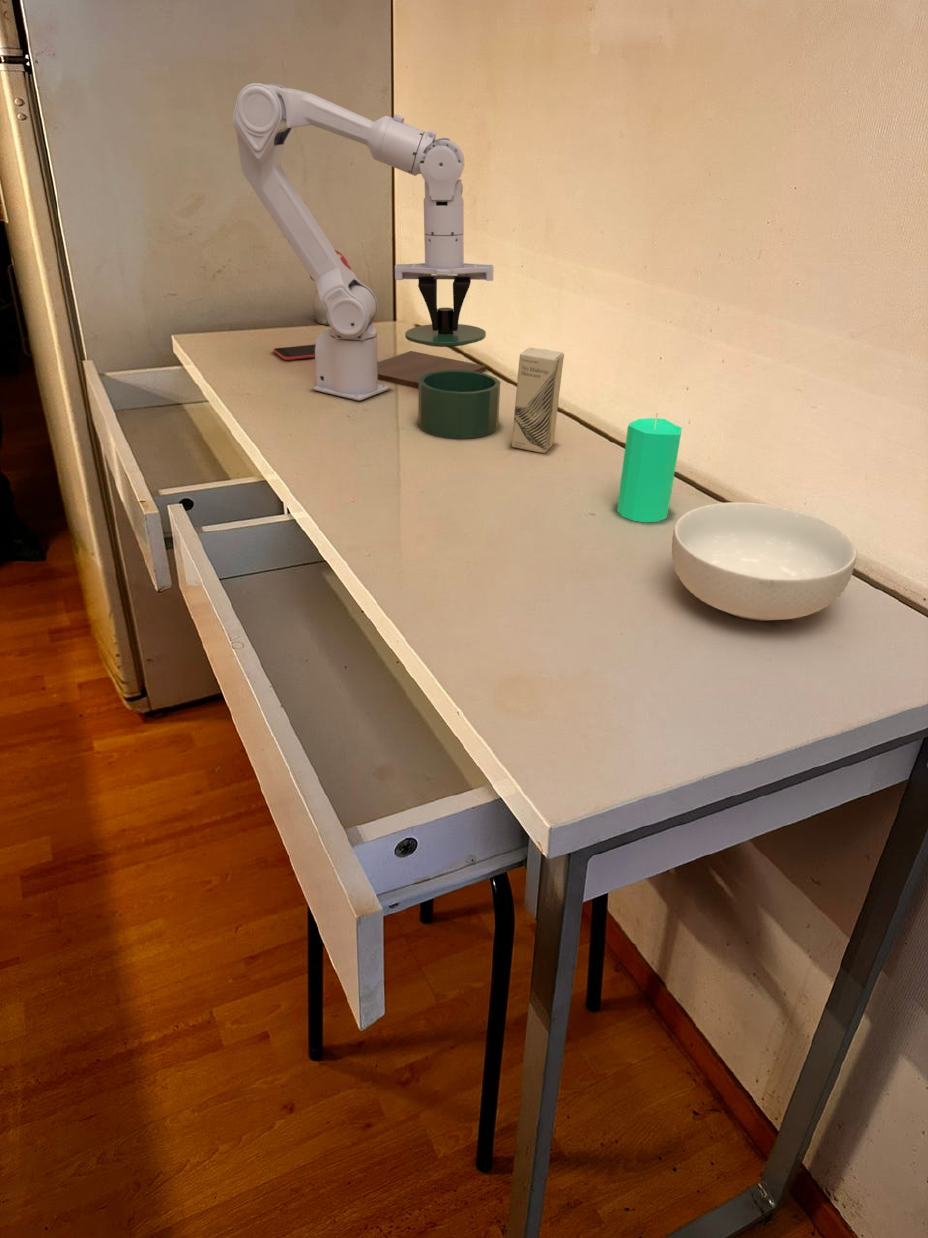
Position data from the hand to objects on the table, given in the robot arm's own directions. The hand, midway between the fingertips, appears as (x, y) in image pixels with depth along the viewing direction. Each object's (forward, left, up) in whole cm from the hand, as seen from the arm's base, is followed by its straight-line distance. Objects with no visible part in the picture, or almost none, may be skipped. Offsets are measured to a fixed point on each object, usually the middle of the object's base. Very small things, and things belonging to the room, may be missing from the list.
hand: (445, 329), depth 137 cm
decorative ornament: (-46, +28, -11) cm, 55 cm away
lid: (0, 0, -1) cm, 1 cm away
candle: (+43, -24, -11) cm, 51 cm away
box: (+22, -12, -11) cm, 27 cm away
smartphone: (-33, +7, -10) cm, 35 cm away
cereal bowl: (+60, -38, -11) cm, 72 cm away
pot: (+10, -11, -10) cm, 18 cm away
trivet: (-10, +9, -10) cm, 17 cm away
